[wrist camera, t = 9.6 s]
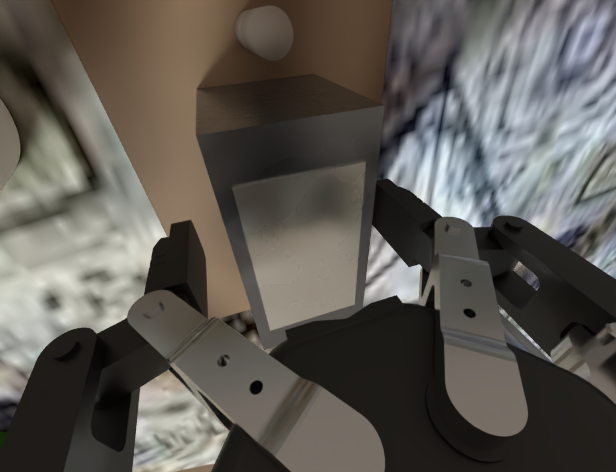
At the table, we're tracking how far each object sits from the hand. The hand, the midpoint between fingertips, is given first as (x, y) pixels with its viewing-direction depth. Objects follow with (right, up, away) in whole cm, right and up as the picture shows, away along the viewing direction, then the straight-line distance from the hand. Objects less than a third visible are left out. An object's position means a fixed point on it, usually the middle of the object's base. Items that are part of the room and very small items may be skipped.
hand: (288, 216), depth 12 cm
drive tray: (-1, +3, +3) cm, 4 cm away
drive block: (-1, +2, +2) cm, 3 cm away
